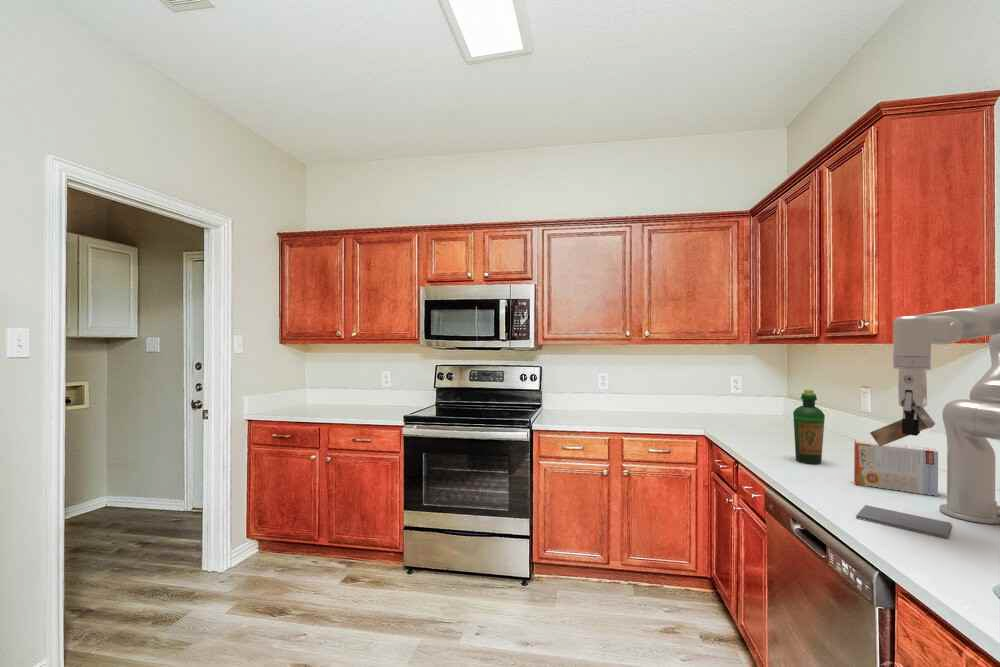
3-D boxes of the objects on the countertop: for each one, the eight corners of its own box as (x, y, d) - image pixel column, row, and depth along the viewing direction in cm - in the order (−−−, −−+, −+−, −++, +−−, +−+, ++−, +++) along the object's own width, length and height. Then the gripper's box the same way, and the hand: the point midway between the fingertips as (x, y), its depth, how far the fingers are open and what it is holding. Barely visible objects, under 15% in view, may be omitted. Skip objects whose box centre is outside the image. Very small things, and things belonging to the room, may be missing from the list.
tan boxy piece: (878, 447, 129) (863, 427, 131) (883, 443, 134) (868, 423, 137) (932, 427, 121) (915, 405, 124) (935, 423, 127) (919, 402, 129)
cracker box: (853, 480, 166) (935, 492, 154) (854, 484, 161) (938, 497, 149) (854, 439, 166) (936, 448, 154) (855, 442, 161) (939, 451, 149)
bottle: (809, 466, 184) (810, 392, 184) (785, 459, 194) (786, 389, 195) (831, 464, 187) (832, 391, 187) (806, 457, 197) (807, 388, 198)
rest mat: (951, 526, 126) (951, 522, 126) (947, 538, 117) (947, 535, 118) (865, 507, 139) (865, 505, 139) (856, 518, 130) (856, 515, 130)
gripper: (927, 365, 119) (926, 440, 119) (934, 363, 130) (933, 432, 130) (888, 363, 124) (887, 435, 124) (898, 361, 136) (897, 428, 135)
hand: (911, 433), depth 127 cm, fingers closed on tan boxy piece, 3 cm apart
